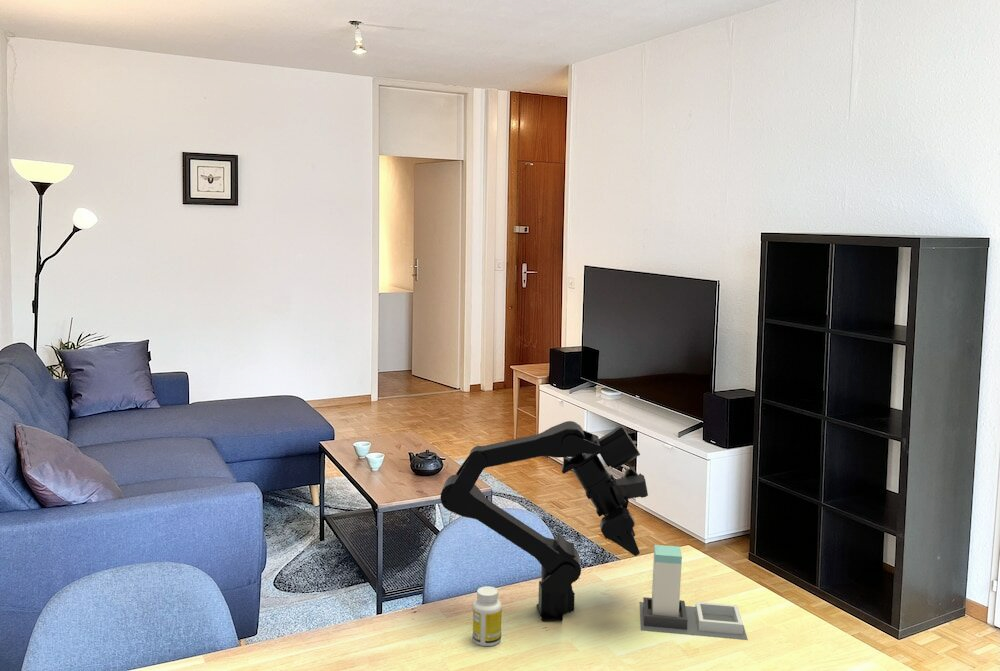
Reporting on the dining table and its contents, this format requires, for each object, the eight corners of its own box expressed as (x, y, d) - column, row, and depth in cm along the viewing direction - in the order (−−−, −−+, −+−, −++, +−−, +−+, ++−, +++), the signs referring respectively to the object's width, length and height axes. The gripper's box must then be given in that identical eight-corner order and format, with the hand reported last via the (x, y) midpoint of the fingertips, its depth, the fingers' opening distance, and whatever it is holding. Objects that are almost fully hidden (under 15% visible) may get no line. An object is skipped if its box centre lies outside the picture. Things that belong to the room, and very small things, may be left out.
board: (640, 635, 158) (641, 620, 158) (639, 606, 170) (639, 592, 170) (747, 644, 156) (748, 629, 155) (738, 615, 167) (739, 601, 167)
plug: (652, 622, 161) (655, 554, 159) (651, 610, 166) (654, 544, 164) (678, 624, 161) (681, 556, 159) (676, 612, 166) (679, 546, 164)
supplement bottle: (505, 635, 157) (506, 587, 156) (495, 649, 152) (496, 599, 151) (478, 630, 159) (479, 582, 158) (468, 644, 154) (469, 594, 152)
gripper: (635, 474, 152) (677, 544, 153) (626, 447, 170) (664, 509, 172) (583, 503, 153) (625, 572, 155) (580, 473, 172) (618, 535, 173)
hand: (635, 545), depth 163 cm, fingers open, 9 cm apart
